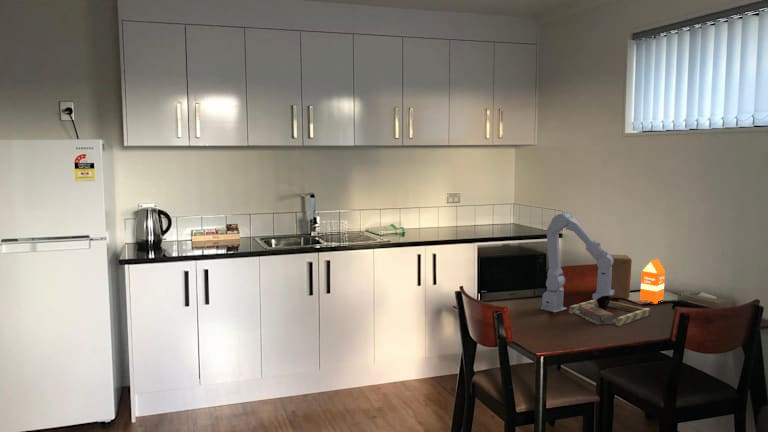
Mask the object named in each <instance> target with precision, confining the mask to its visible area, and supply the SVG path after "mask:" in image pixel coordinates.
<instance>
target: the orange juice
mask: <svg viewBox="0 0 768 432" xmlns="http://www.w3.org/2000/svg"><path fill="white" fill-rule="evenodd" d="M665 276H666V270H665V268H664V267H663V265H662V264H661V262H660V259H659V258H656V259H653V260H650V261H649V263H647V264H646V266H645V267H644V268H643V269H642V270H641V281H640V282H641V283H640V292H639V293H640V294H639V295H640V296H639V301H640V300H648V301H652V302H653V303H652V304H655V305H656V304H658V301H660V300H662V299H663V300H664V293H665V281H666V277H665Z"/></svg>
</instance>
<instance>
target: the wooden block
mask: <svg viewBox="0 0 768 432" xmlns="http://www.w3.org/2000/svg"><path fill="white" fill-rule="evenodd" d="M610 255H612V257H613V260H614V262H613V264H612V278H611V289H612V290H615V291H614V295H612V296H610V295H608V296H609V297H612V299H630V297H631V296H630V293H631V277H632V276H631V275H632V262H633V261H632V258H631V257H630V256H629V255H627V254H610ZM610 267H611V266H610Z"/></svg>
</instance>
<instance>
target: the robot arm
mask: <svg viewBox="0 0 768 432" xmlns="http://www.w3.org/2000/svg"><path fill="white" fill-rule="evenodd" d="M564 229H565V230H567V231H571V232H573V233H574V234H575V235H576V236H577V237H578V238H579V239H580V240H581V241H582V242H583V243H584V245H585V250H586V251H587V252H588V253H589V255H590V256H591V257H592V258H593V260H595V261H596V265H597V267H598V268H597V283H596V291H595V292H594V293H592V295H591V296H592V297H591V298H592V299H591V300H594V299H596V300H597V303H598V306H597V307H599V308H601V309H603V310H606V311H608V304H609V302H610V301H612V299H613V298H612V297H609V296H608V295H610V296H612V295H614V291H615V290H612V289H611V278H612V264H613V262H614V260H613V257H612V255H613V254H612V255H610V254H609V252H608V251H606V250H605V249H604V247H602V243H601V242H600V241H597V240H593V239H592V238H591V237H590V235H588V233H587V232H586V230H585V229H584V227H583V226H581V224H580V223H579V222H578V220H577V218H575V216H573V215H572V213H570V212H568V211H565V212H562V213H558V214H556V215H555V216H553V218H552V219H551V221H550V223H549V224H548V227H547V229H546V239H547V258H548V271H547V279H546V282H545V286H546V287H547V288H546V291H545V292H543V294H542V301H541V302H542V303H541V307H540V310H543V311H547V312H551V313H557V312H561V311H564V310H567V308H568V307H565V306H564V292H565V289H564V285H565V284H566V277H565V276H564V271H563V268H562V265H561V264H562V263H561V251H560V249H561V248H560V236H559V234H561V232H562V231H563V230H564ZM610 266H611V267H610Z"/></svg>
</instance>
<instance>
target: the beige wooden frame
mask: <svg viewBox="0 0 768 432" xmlns="http://www.w3.org/2000/svg"><path fill="white" fill-rule="evenodd" d="M585 304H593V305H595V306H597V307H599V306H598V303H597V300H596V299H591V300H588V301H584V302H580V303H577V304H573V305H569V308H568V309H569V311H568V313H569V314H571V315H572V314H574V311H575V312H576V311H579V307H580V306H582V305H585ZM608 307H609V308H614V309H617V310H621V311H625V312H626V311H627V312H630V313H628V314H624V315H621V316H618V317H615V320H616V324H615V325H616V326H619V327H620V326H624V325H625V324H629V323H631V322H634V321H637V320H640V319H643V318H647V317H649V316H650V315H651V308H649V307H646V308H644V307H639V306H635V305H631V304H627V303H626V304H625V303H622V302H618V301H615V300H614V301H613V300H610V302H609V304H608V306H607V308H608Z"/></svg>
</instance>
